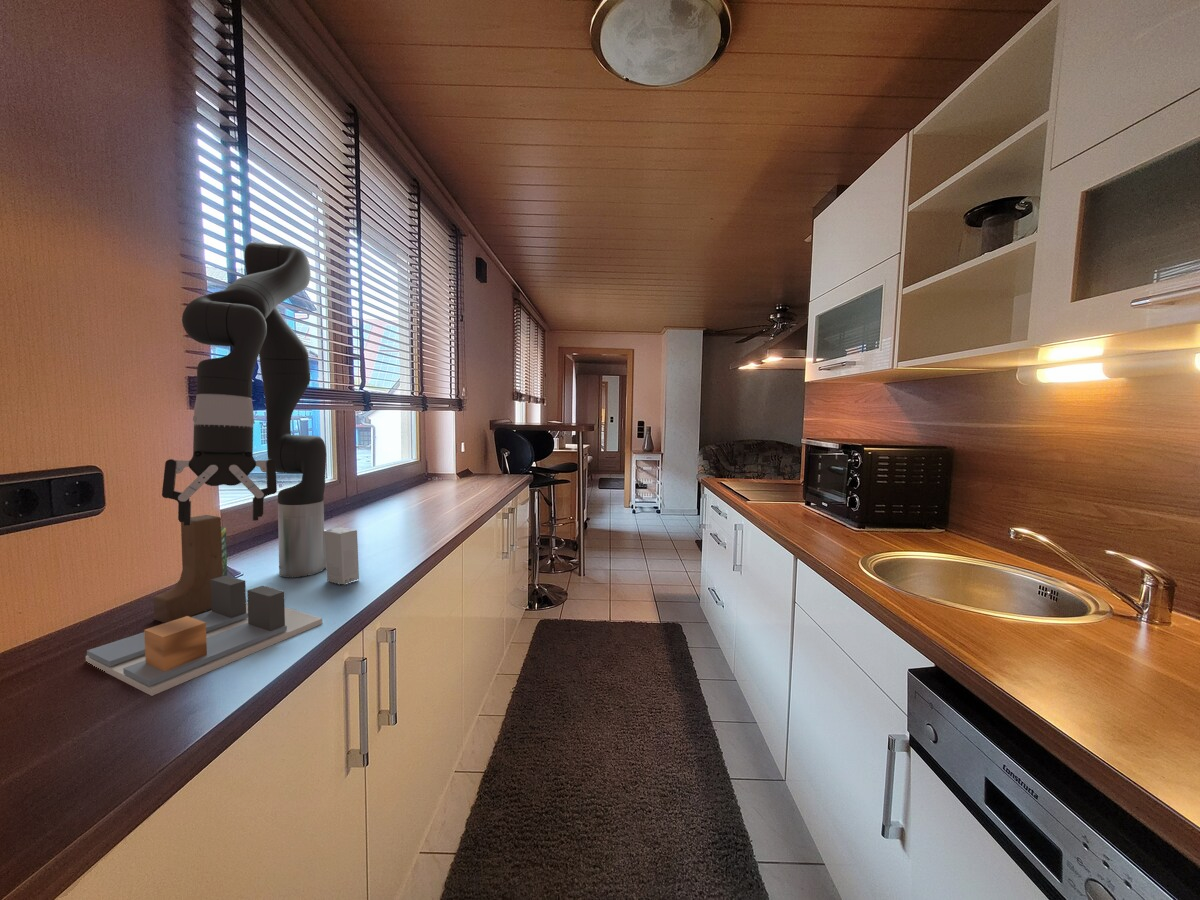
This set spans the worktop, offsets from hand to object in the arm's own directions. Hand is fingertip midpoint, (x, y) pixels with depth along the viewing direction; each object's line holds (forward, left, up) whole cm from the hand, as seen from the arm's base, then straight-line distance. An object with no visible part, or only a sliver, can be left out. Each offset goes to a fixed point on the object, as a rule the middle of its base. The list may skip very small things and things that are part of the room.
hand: (222, 522), depth 73 cm
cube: (+8, +4, -18) cm, 20 cm away
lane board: (0, -2, -20) cm, 21 cm away
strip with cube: (+3, +4, -19) cm, 20 cm away
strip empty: (+3, -7, -19) cm, 21 cm away
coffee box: (-12, -26, -21) cm, 35 cm away
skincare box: (-28, -8, -21) cm, 35 cm away
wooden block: (-4, -18, -21) cm, 28 cm away
